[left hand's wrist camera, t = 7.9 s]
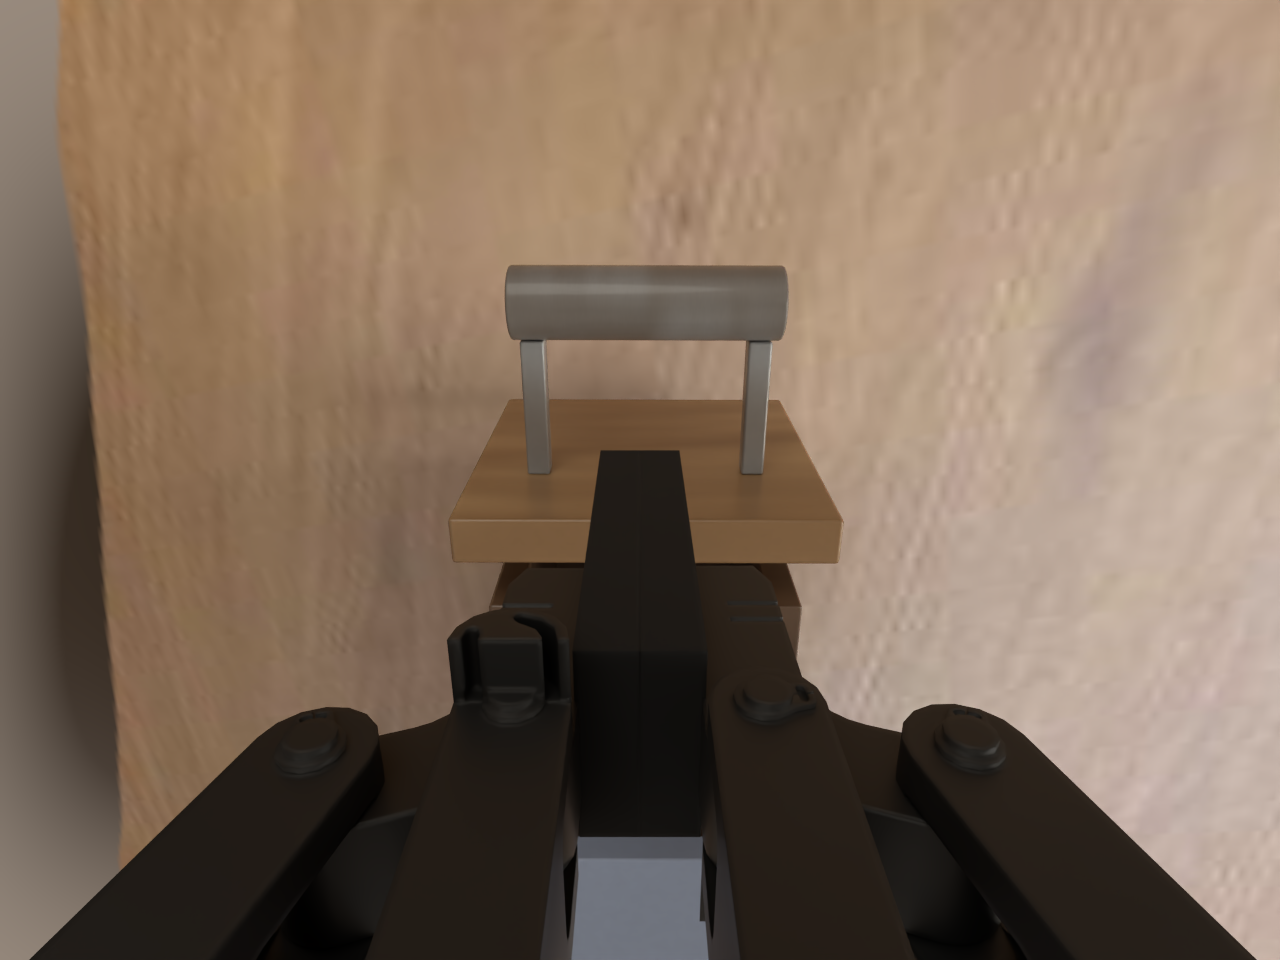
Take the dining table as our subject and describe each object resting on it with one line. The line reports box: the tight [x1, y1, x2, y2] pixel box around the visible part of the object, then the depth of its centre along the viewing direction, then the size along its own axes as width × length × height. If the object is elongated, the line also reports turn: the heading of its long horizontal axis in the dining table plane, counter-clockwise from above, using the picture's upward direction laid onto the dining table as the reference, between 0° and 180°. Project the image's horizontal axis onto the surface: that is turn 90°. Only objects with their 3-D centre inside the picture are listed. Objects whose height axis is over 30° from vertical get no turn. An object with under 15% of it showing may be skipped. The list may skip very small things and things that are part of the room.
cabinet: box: [572, 836, 709, 960], centre depth 30 cm, size 18×11×11 cm, turn 0°
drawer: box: [448, 265, 844, 836], centre depth 25 cm, size 22×9×9 cm, turn 0°
